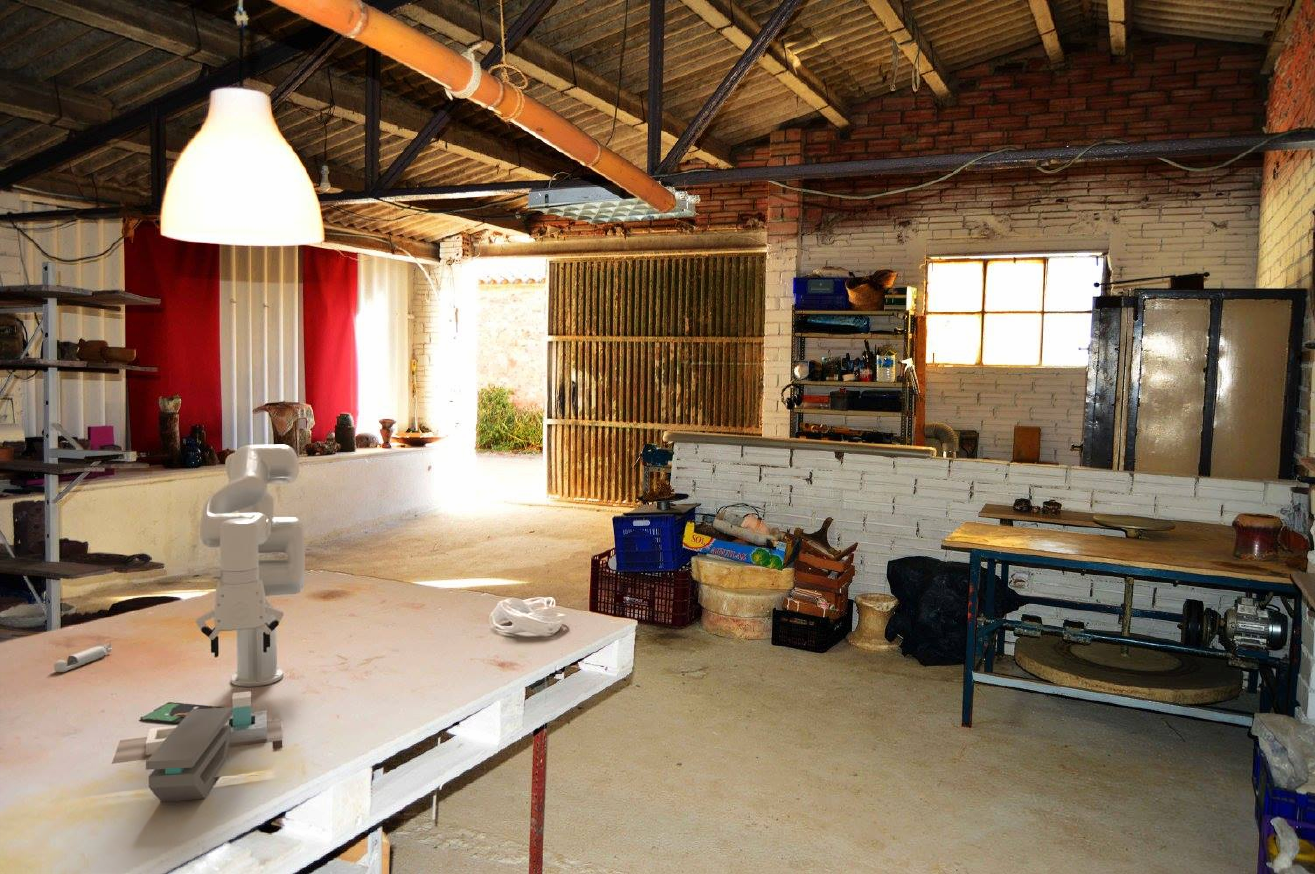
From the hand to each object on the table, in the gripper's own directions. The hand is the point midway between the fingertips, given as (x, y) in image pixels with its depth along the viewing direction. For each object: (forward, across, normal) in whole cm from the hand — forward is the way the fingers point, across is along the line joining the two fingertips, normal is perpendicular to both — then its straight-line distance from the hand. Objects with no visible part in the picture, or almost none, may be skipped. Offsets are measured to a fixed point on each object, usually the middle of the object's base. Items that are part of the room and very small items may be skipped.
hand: (241, 652), depth 197 cm
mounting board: (+20, -8, 0) cm, 21 cm away
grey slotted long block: (+20, -8, -20) cm, 29 cm away
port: (+18, 0, 0) cm, 18 cm away
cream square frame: (+18, -14, 0) cm, 23 cm away
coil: (+21, +82, +62) cm, 105 cm away
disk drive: (+21, -13, +16) cm, 29 cm away
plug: (+18, 0, 0) cm, 18 cm away
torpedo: (+21, -40, +70) cm, 83 cm away
